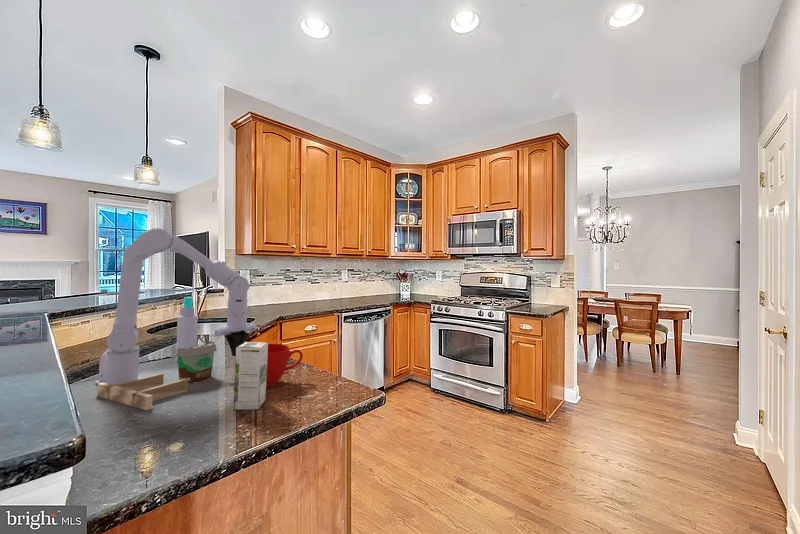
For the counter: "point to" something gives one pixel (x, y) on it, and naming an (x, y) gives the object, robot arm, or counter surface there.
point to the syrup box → (250, 375)
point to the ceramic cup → (278, 362)
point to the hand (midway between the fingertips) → (236, 355)
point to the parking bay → (141, 390)
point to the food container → (196, 362)
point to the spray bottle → (187, 326)
